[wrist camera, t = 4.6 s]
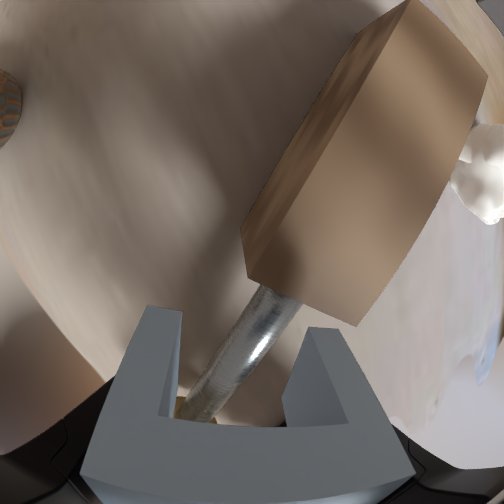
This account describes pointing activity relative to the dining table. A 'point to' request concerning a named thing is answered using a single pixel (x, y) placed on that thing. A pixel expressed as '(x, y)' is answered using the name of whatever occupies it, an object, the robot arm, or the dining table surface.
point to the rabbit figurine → (482, 173)
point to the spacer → (243, 433)
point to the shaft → (238, 355)
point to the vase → (8, 106)
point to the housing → (365, 165)
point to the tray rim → (494, 11)
